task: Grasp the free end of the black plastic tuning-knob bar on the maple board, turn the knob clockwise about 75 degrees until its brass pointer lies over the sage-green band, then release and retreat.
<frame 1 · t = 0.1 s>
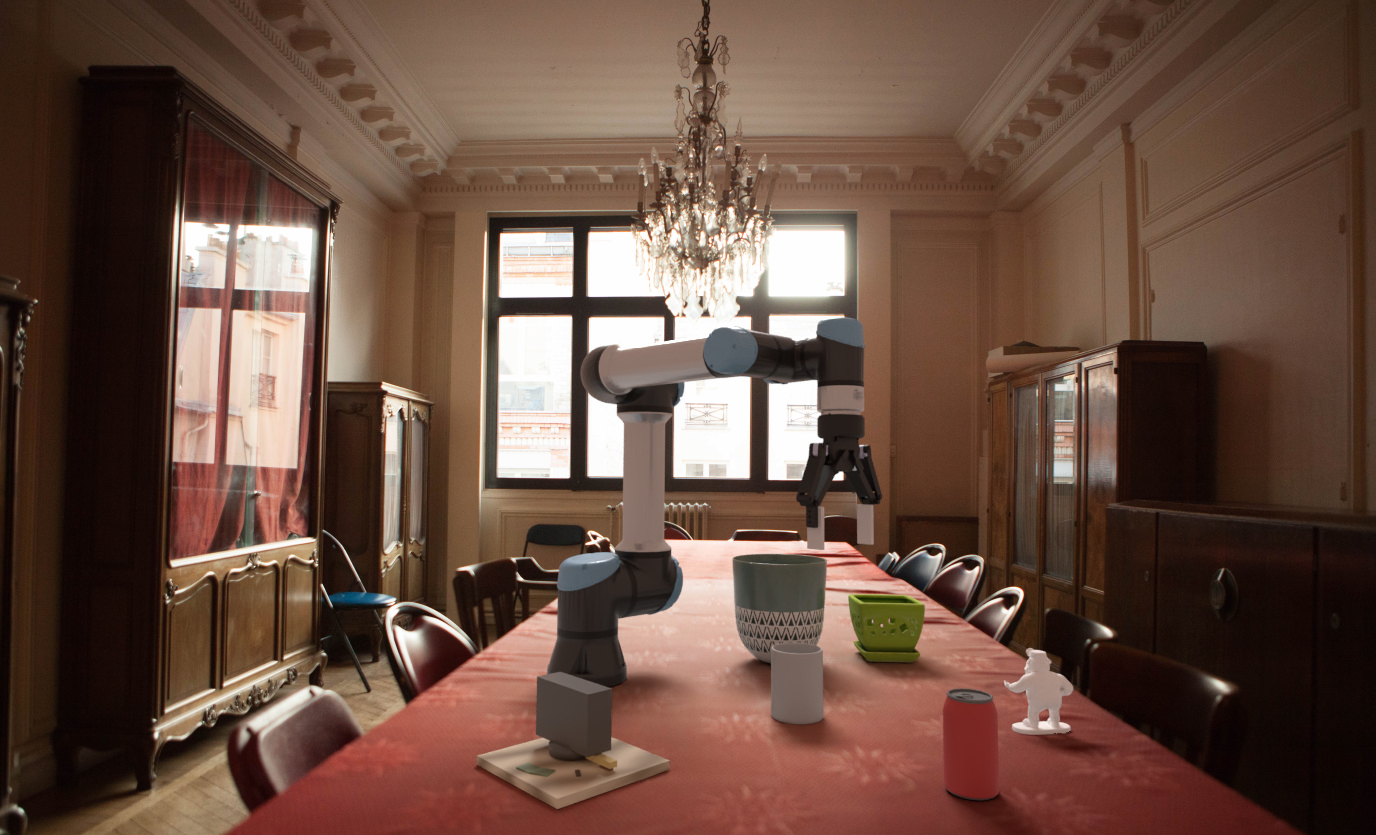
hand: (841, 546, 125), 28 cm above the table, fingers open, 13 cm apart
planter: (779, 662, 164), on the table
figurine: (1039, 730, 123), on the table
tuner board: (572, 767, 105), on the table
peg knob: (579, 719, 107), point 6 cm above the table, hinge at 0.0°
beer can: (971, 793, 98), on the table
mug: (795, 714, 130), on the table
flower pot: (885, 658, 169), on the table
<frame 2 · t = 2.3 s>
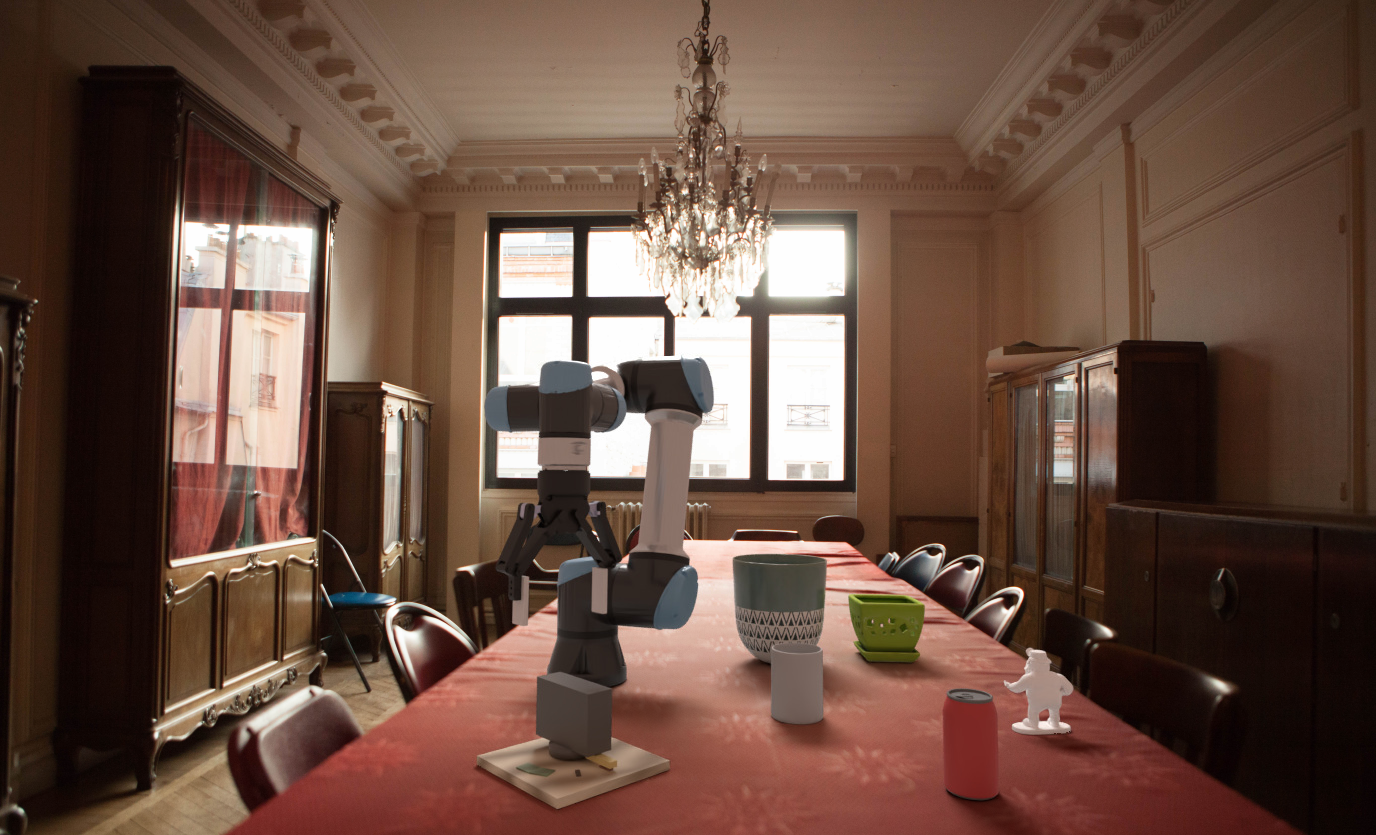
hand: (561, 618, 111), 19 cm above the table, fingers open, 13 cm apart
nothing on the table moved.
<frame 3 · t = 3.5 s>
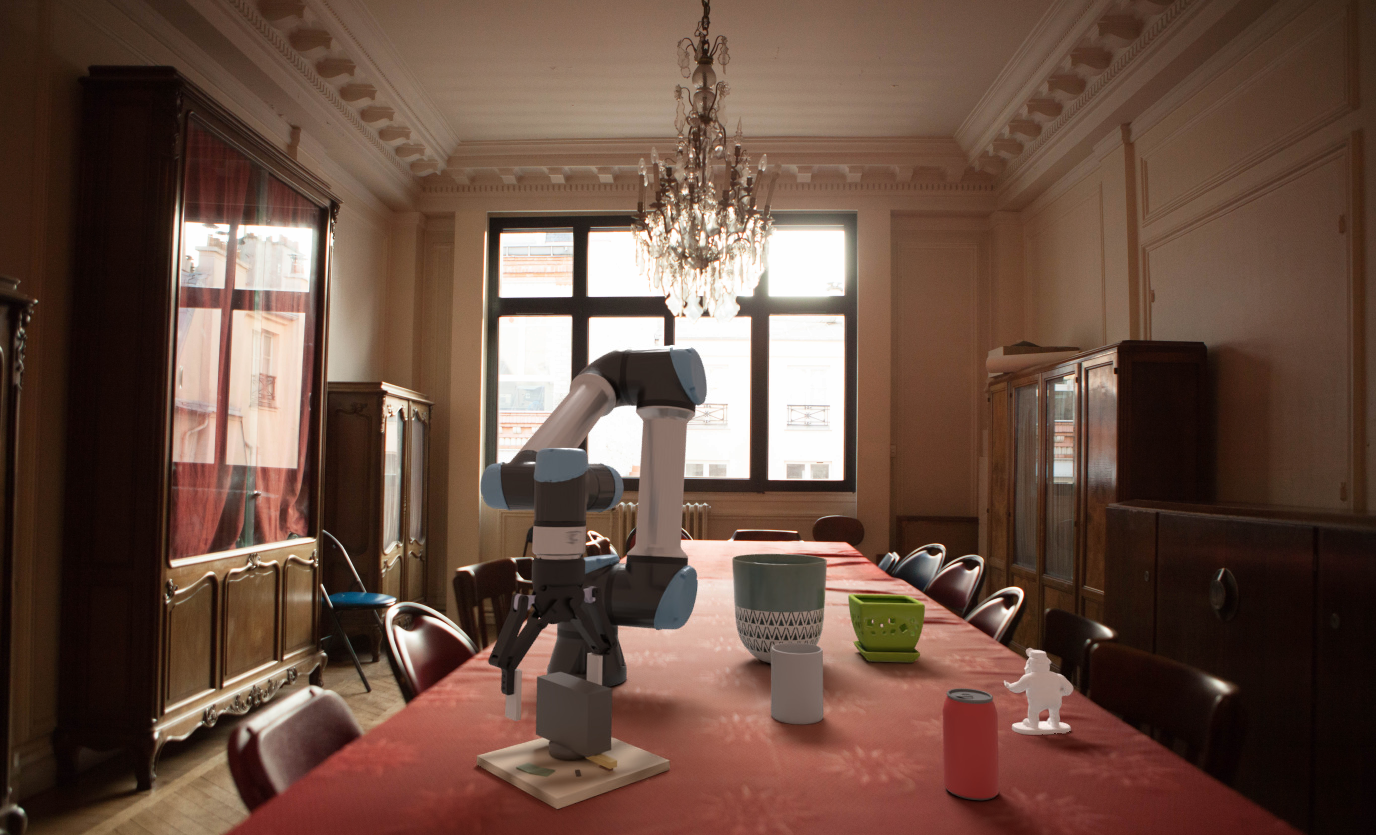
hand: (555, 709, 110), 6 cm above the table, fingers open, 13 cm apart
nothing on the table moved.
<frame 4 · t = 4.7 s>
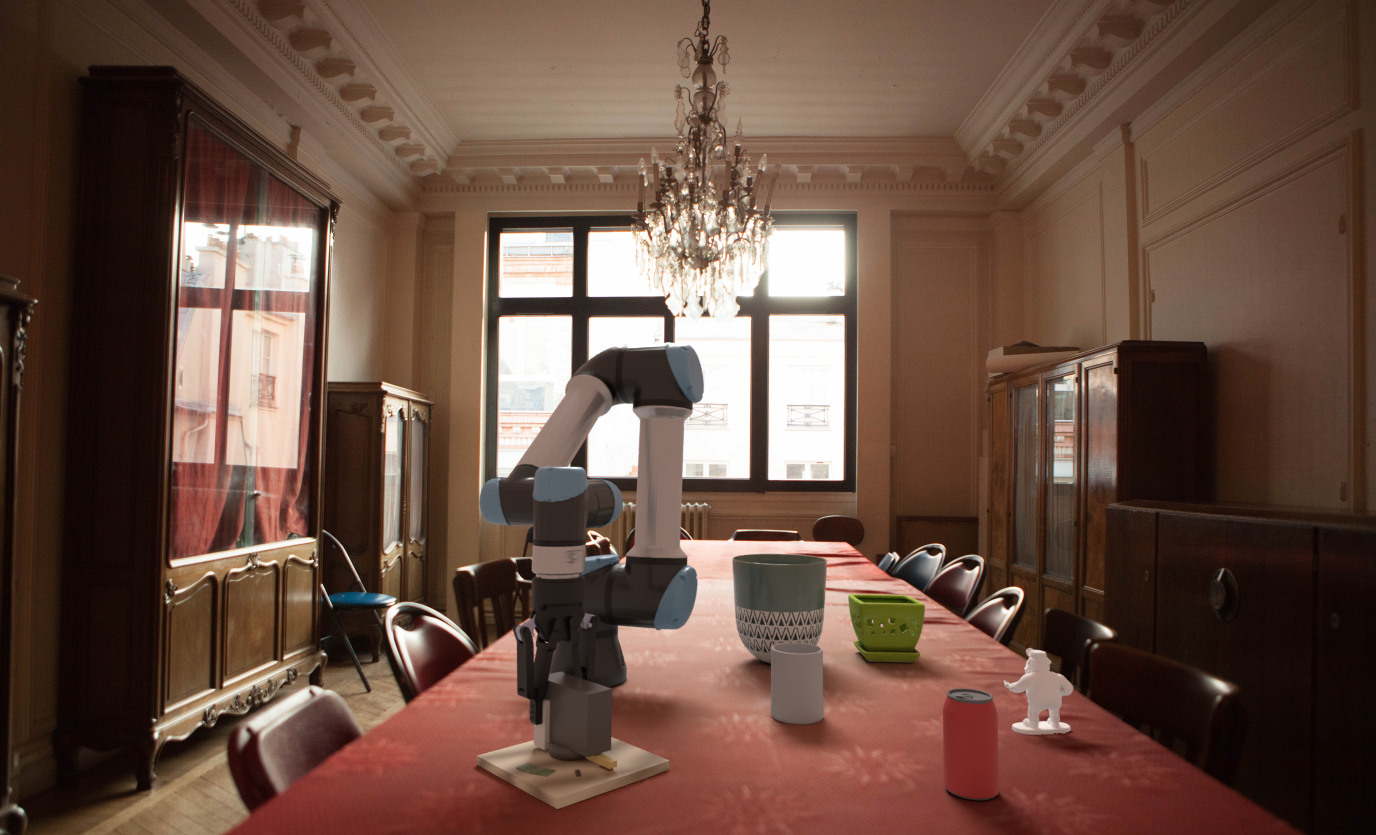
hand: (555, 742, 110), 2 cm above the table, fingers closed on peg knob, 4 cm apart
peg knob: (579, 719, 107), point 6 cm above the table, hinge at 0.0°, touching gripper
everything else where it was.
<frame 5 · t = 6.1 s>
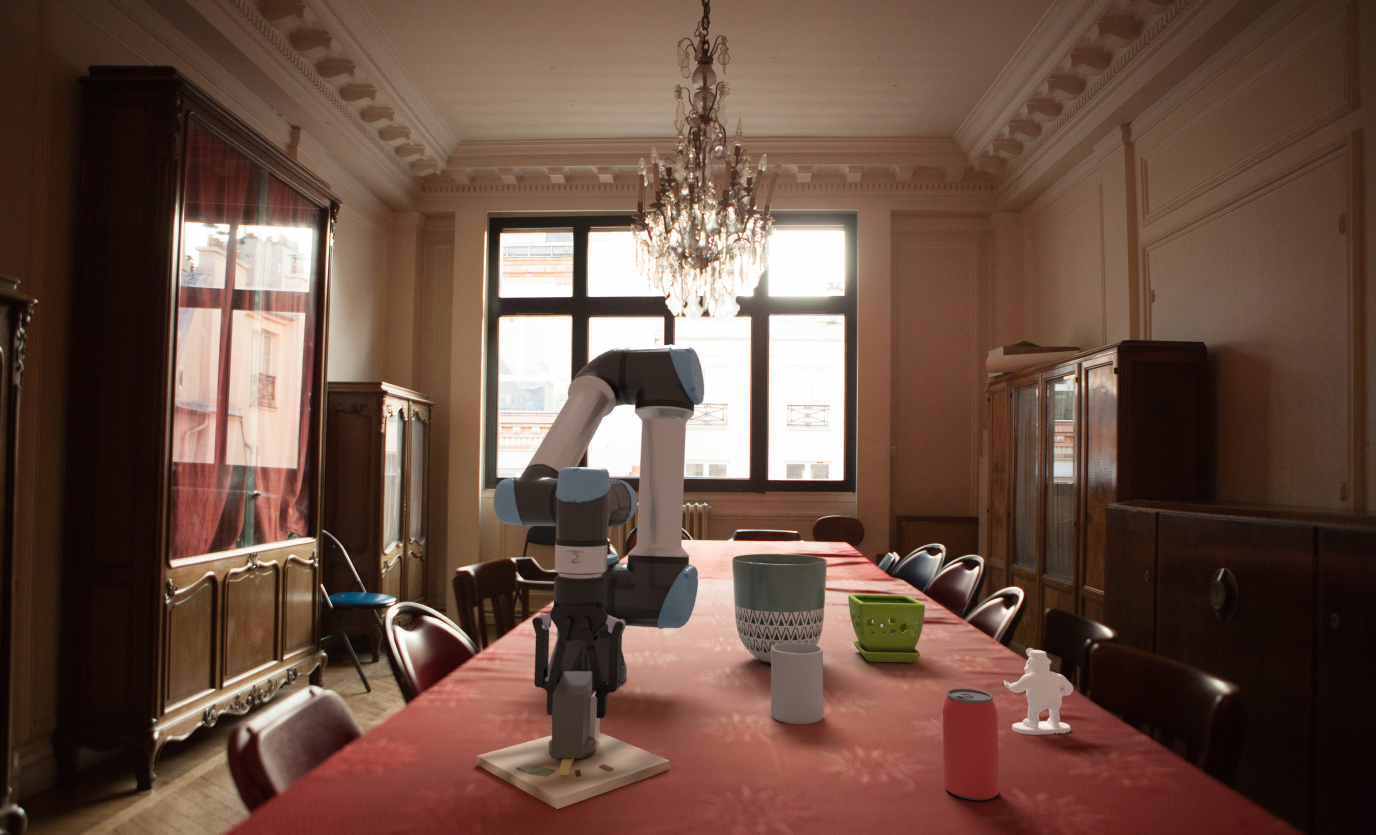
hand: (576, 738, 112), 2 cm above the table, fingers closed on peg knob, 5 cm apart
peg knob: (571, 720, 106), point 6 cm above the table, hinge at -42.3°, touching gripper
everything else where it was.
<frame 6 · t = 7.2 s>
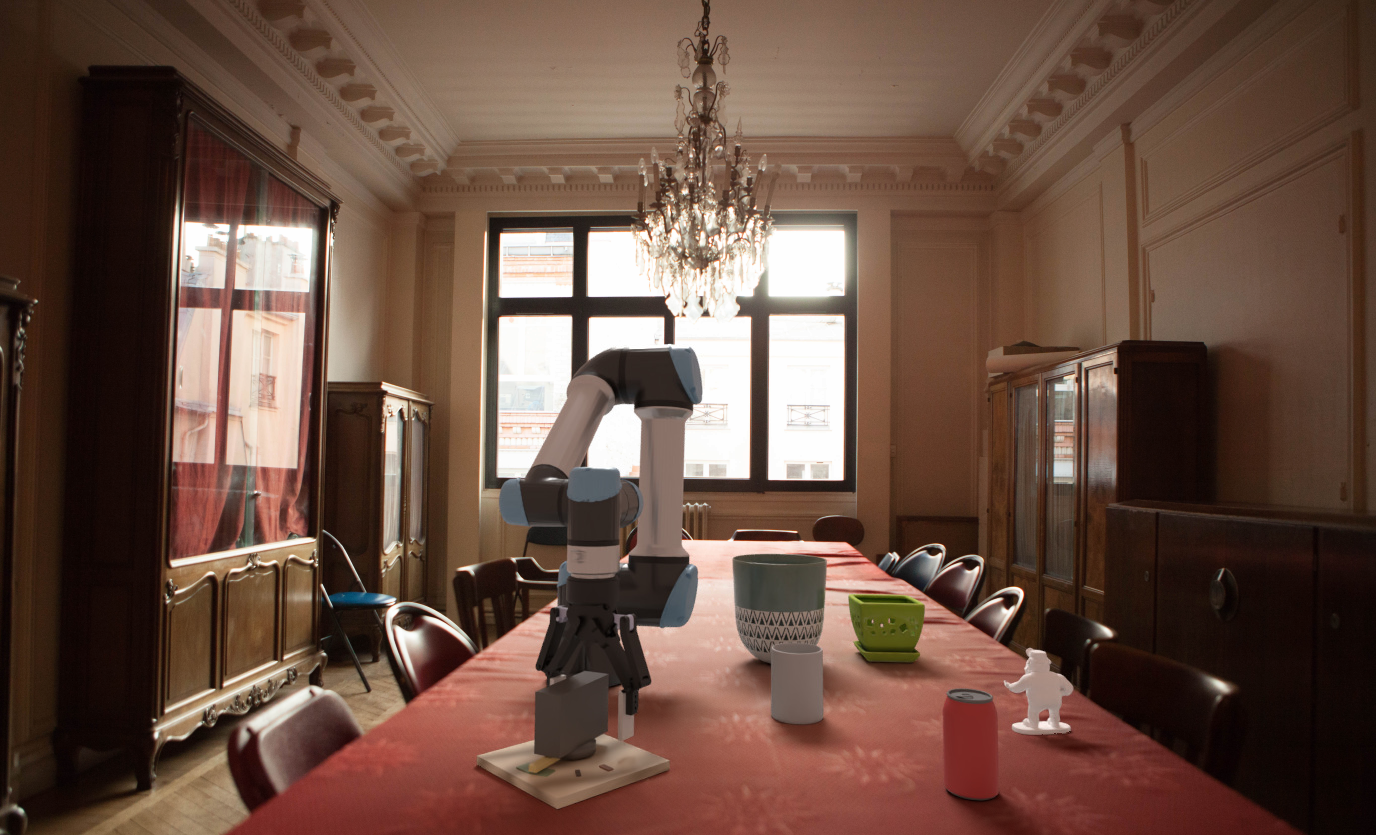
hand: (590, 730, 111), 3 cm above the table, fingers open, 11 cm apart
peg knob: (566, 719, 106), point 6 cm above the table, hinge at -69.3°
everything else where it was.
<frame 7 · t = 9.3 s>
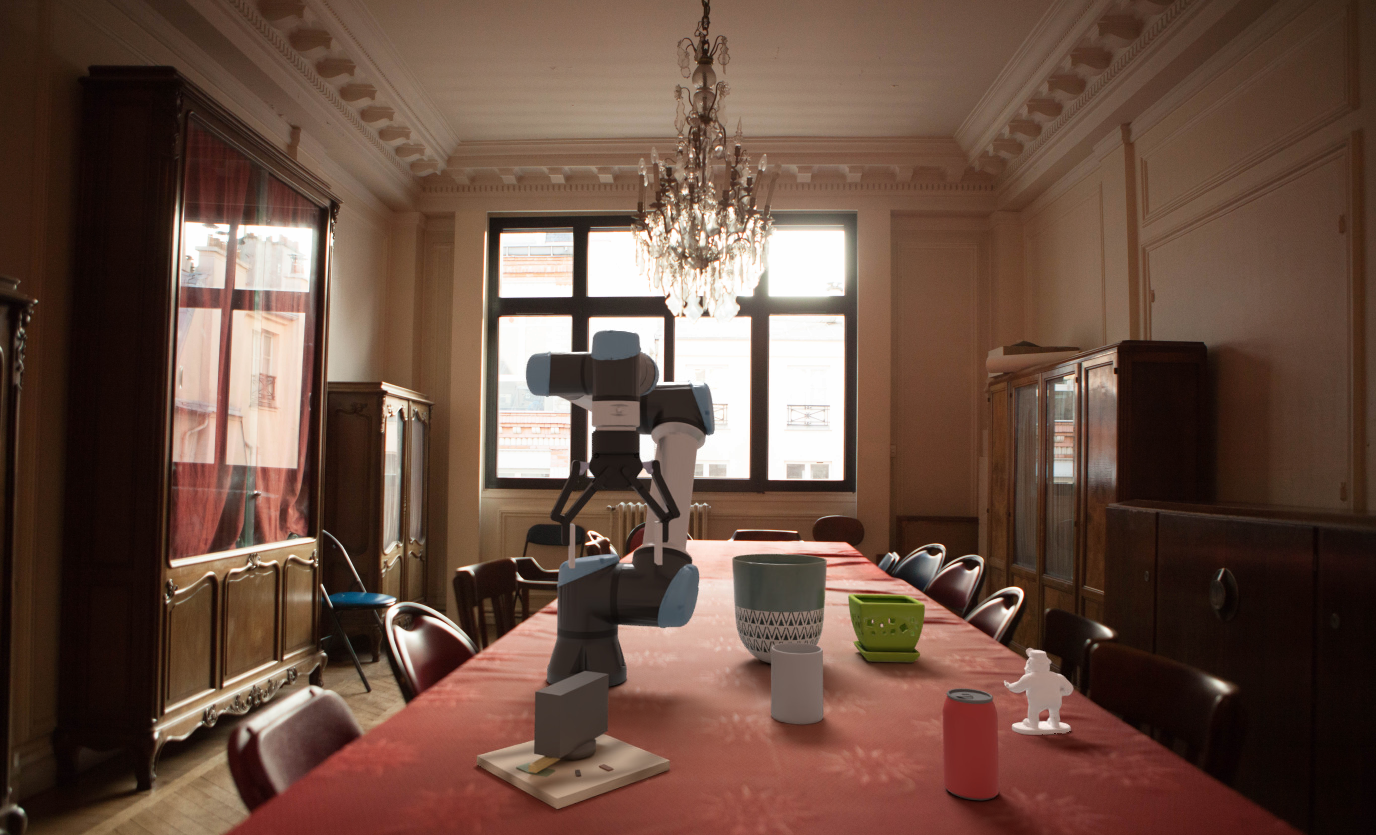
hand: (615, 565, 122), 25 cm above the table, fingers open, 13 cm apart
nothing on the table moved.
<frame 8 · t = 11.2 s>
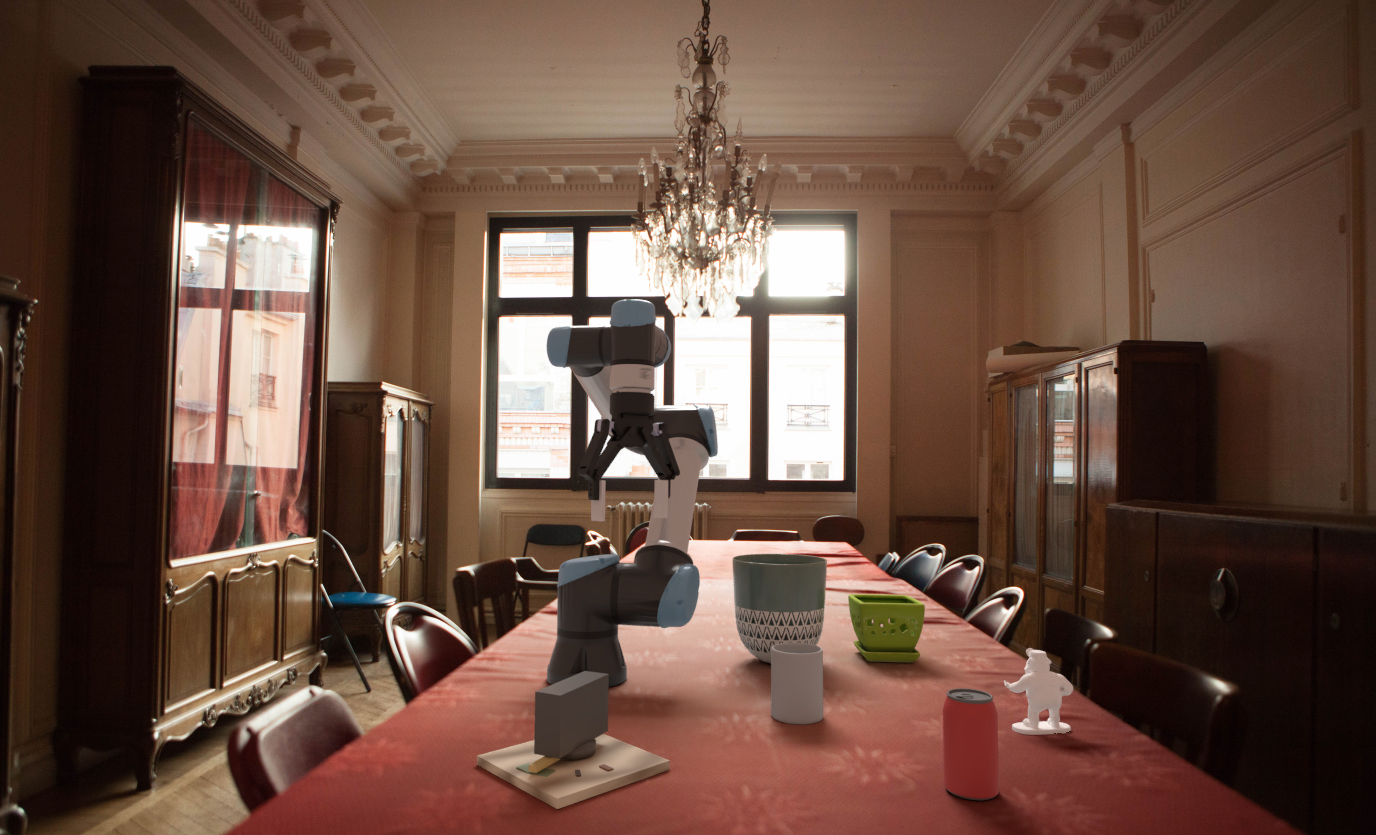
hand: (630, 519, 130), 32 cm above the table, fingers open, 13 cm apart
nothing on the table moved.
at the end: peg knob at -69° (first picture: +0°); the gripper is holding nothing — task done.
